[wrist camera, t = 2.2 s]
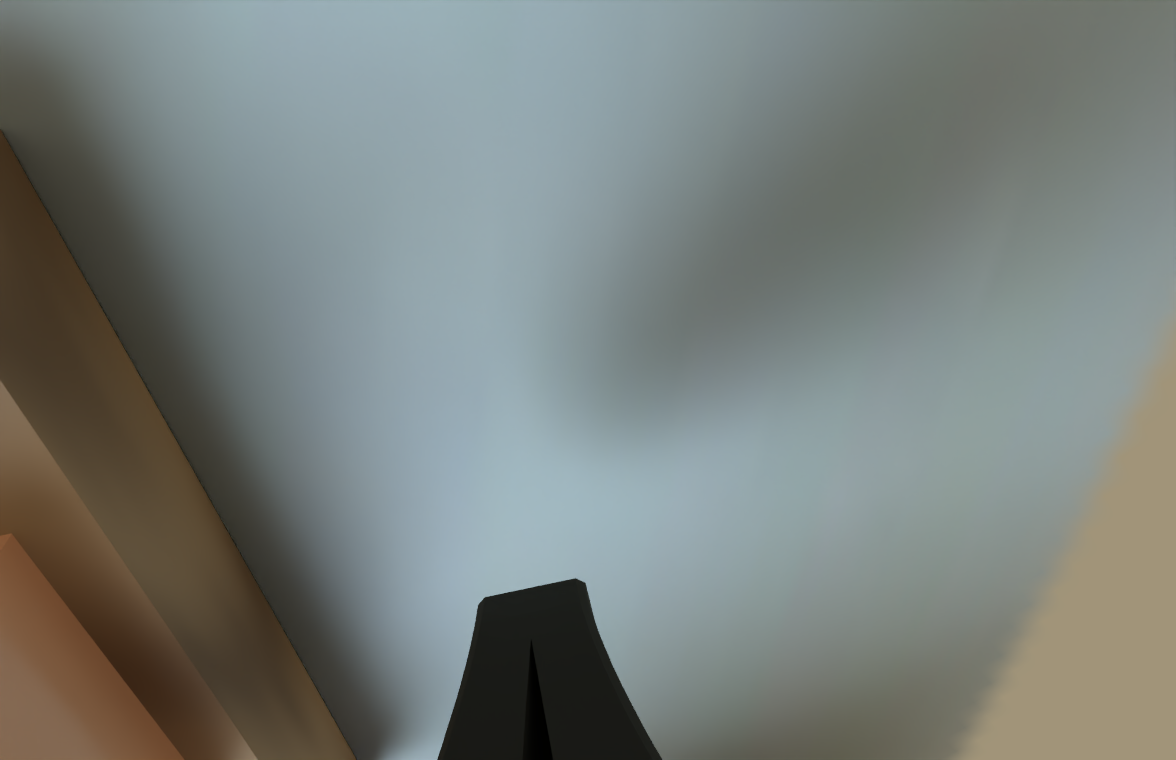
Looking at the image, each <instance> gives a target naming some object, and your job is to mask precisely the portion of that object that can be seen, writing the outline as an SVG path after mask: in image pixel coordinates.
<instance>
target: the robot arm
mask: <svg viewBox="0 0 1176 760" xmlns="http://www.w3.org/2000/svg"><path fill="white" fill-rule="evenodd" d="M437 760H662V758H661V757H660V755H659V753H658V752H657V750H656V748H655V747H654V745H653V743H652V741H651V739H650V738H649V736H648V734H647V732H646V730H645V729H644V727H643V725H642V723H641V721H640V719H639V717H638V716H637V714H636V712H635V710H634V708H633V706H632V704H631V702H630V700H629V698H628V696H627V694H626V692H625V690H624V688H623V687H622V685H621V683H620V680H619V678H618V676H617V674H616V672H615V670H614V668H613V666H612V663H611V661H610V659H609V656H608V654H607V651H606V649H605V647H604V644H603V642H602V640H601V637H600V634H599V632H598V629H597V626H596V623H595V620H594V616H593V612H592V608H591V604H590V600H589V596H588V592H587V587H586V583H584V582H582V581H580V580H578V579H576V578H575V579H570V580H565V581H561V582H556V583H551V584H546V585H542V586H537V587H532V588H527V589H523V590H518V591H513V592H508V593H504V594H499V595H494V596H489V597H485V598H484V599H483V600H482V601H481V603H480V604H479V605H478V610H477V616H476V622H475V627H474V632H473V637H472V641H471V646H470V650H469V654H468V658H467V662H466V666H465V670H464V674H463V678H462V681H461V685H460V689H459V692H458V696H457V699H456V702H455V706H454V709H453V712H452V715H451V718H450V722H449V725H448V728H447V731H446V734H445V737H444V741H443V744H442V747H441V750H440V753H439V756H438V759H437Z"/></svg>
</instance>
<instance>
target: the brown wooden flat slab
mask: <svg viewBox="0 0 1176 760" xmlns="http://www.w3.org/2000/svg"><path fill="white" fill-rule="evenodd" d="M11 533H12V535H13V536H14V537H15V539H16V540H17V541H18V542H19V544H20V545H21V546H22V548H23V549H24V550H25V552H26V553H27V554H28V556H29V557H30V558H31V559H32V561H33V562H34V563H35V565H36V566H37V567H38V569H39V570H40V571H41V573H42V574H43V575H44V577H45V578H46V579H47V580H48V582H49V583H50V584H51V586H52V587H53V588H54V590H55V591H56V592H57V594H58V595H59V596H60V597H61V599H62V600H63V601H64V603H65V604H66V605H67V607H68V608H69V609H70V611H71V612H72V613H73V614H74V616H75V617H76V618H77V620H78V621H79V622H80V624H81V625H82V626H83V628H84V629H85V630H86V631H87V633H88V634H89V635H90V637H91V638H92V639H93V641H94V642H95V643H96V645H97V646H98V647H99V648H100V650H101V651H102V652H103V654H104V655H105V656H106V658H107V659H108V660H109V662H110V663H111V664H112V666H113V667H114V668H115V669H116V671H117V672H118V673H119V675H120V676H121V677H122V679H123V680H124V681H125V683H126V684H127V685H128V686H129V688H130V689H131V690H132V692H133V693H134V694H135V696H136V697H137V698H138V700H139V701H140V702H141V703H142V705H143V706H144V707H145V709H146V710H147V711H148V713H149V714H150V715H151V717H152V718H153V719H154V720H155V722H156V723H157V724H158V726H159V727H160V728H161V730H162V731H163V732H164V734H165V735H166V736H167V738H168V739H169V740H170V741H171V743H172V744H173V745H174V747H175V748H176V749H177V751H178V752H179V753H180V755H181V756H182V757H183V758H184V760H356V758H355V756H354V754H353V753H352V751H351V749H350V747H349V746H348V744H347V742H346V740H345V739H344V737H343V735H342V733H341V731H340V730H339V728H338V726H337V724H336V723H335V721H334V719H333V717H332V716H331V714H330V712H329V710H328V708H327V707H326V705H325V703H324V701H323V700H322V698H321V696H320V694H319V693H318V691H317V689H316V687H315V685H314V684H313V682H312V680H311V678H310V677H309V675H308V673H307V671H306V670H305V668H304V666H303V664H302V662H301V661H300V659H299V657H298V655H297V654H296V652H295V650H294V648H293V646H292V645H291V643H290V641H289V639H288V638H287V636H286V634H285V632H284V631H283V629H282V627H281V625H280V623H279V622H278V620H277V618H276V616H275V615H274V613H273V611H272V609H271V608H270V606H269V604H268V602H267V600H266V599H265V597H264V595H263V593H262V592H261V590H260V588H259V586H258V585H257V583H256V581H255V579H254V577H253V576H252V574H251V572H250V570H249V569H248V567H247V565H246V563H245V562H244V560H243V558H242V556H241V554H240V553H239V551H238V549H237V547H236V546H235V544H234V542H233V540H232V538H231V537H230V535H229V533H228V531H227V530H226V528H225V526H224V524H223V523H222V521H221V519H220V517H219V515H218V514H217V512H216V510H215V508H214V507H213V505H212V503H211V501H210V500H209V498H208V496H207V494H206V492H205V491H204V489H203V487H202V485H201V484H200V482H199V480H198V478H197V477H196V475H195V473H194V471H193V469H192V468H191V466H190V464H189V462H188V461H187V459H186V457H185V455H184V454H183V452H182V450H181V448H180V446H179V445H178V443H177V441H176V439H175V438H174V436H173V434H172V432H171V431H170V429H169V427H168V425H167V423H166V422H165V420H164V418H163V416H162V415H161V413H160V411H159V409H158V407H157V406H156V404H155V402H154V400H153V399H152V397H151V395H150V393H149V392H148V390H147V388H146V386H145V384H144V383H143V381H142V379H141V377H140V376H139V374H138V372H137V370H136V369H135V367H134V365H133V363H132V361H131V360H130V358H129V356H128V354H127V353H126V351H125V349H124V347H123V346H122V344H121V342H120V340H119V338H118V337H117V335H116V333H115V331H114V330H113V328H112V326H111V324H110V323H109V321H108V319H107V317H106V315H105V314H104V312H103V310H102V308H101V307H100V305H99V303H98V301H97V299H96V298H95V296H94V294H93V292H92V291H91V289H90V287H89V285H88V284H87V282H86V280H85V278H84V276H83V275H82V273H81V271H80V269H79V268H78V266H77V264H76V262H75V261H74V259H73V257H72V255H71V253H70V252H69V250H68V248H67V246H66V245H65V243H64V241H63V239H62V238H61V236H60V234H59V232H58V230H57V229H56V227H55V225H54V223H53V222H52V220H51V218H50V216H49V215H48V213H47V211H46V209H45V207H44V206H43V204H42V202H41V200H40V199H39V197H38V195H37V193H36V191H35V190H34V188H33V186H32V184H31V183H30V181H29V179H28V177H27V176H26V174H25V172H24V170H23V168H22V167H21V165H20V163H19V161H18V160H17V158H16V156H15V154H14V153H13V151H12V149H11V147H10V145H9V144H8V142H7V140H6V138H5V137H4V135H3V133H2V131H1V130H0V536H1V535H6V534H11Z"/></svg>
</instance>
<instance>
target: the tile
mask: <svg viewBox="0 0 1176 760" xmlns="http://www.w3.org/2000/svg"><path fill="white" fill-rule="evenodd" d="M0 760H184V758H183V757H182V756H181V755H180V753H179V752H178V751H177V749H176V748H175V747H174V745H173V744H172V743H171V741H170V740H169V739H168V738H167V736H166V735H165V734H164V732H163V731H162V730H161V728H160V727H159V726H158V724H157V723H156V722H155V720H154V719H153V718H152V717H151V715H150V714H149V713H148V711H147V710H146V709H145V707H144V706H143V705H142V703H141V702H140V701H139V700H138V698H137V697H136V696H135V694H134V693H133V692H132V690H131V689H130V688H129V686H128V685H127V684H126V683H125V681H124V680H123V679H122V677H121V676H120V675H119V673H118V672H117V671H116V669H115V668H114V667H113V666H112V664H111V663H110V662H109V660H108V659H107V658H106V656H105V655H104V654H103V652H102V651H101V650H100V648H99V647H98V646H97V645H96V643H95V642H94V641H93V639H92V638H91V637H90V635H89V634H88V633H87V631H86V630H85V629H84V628H83V626H82V625H81V624H80V622H79V621H78V620H77V618H76V617H75V616H74V614H73V613H72V612H71V611H70V609H69V608H68V607H67V605H66V604H65V603H64V601H63V600H62V599H61V597H60V596H59V595H58V594H57V592H56V591H55V590H54V588H53V587H52V586H51V584H50V583H49V582H48V580H47V579H46V578H45V577H44V575H43V574H42V573H41V571H40V570H39V569H38V567H37V566H36V565H35V563H34V562H33V561H32V559H31V558H30V557H29V556H28V554H27V553H26V552H25V550H24V549H23V548H22V546H21V545H20V544H19V542H18V541H17V540H16V539H15V537H14V536H13V535H12V533H11V534H6V535H1V536H0Z"/></svg>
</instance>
